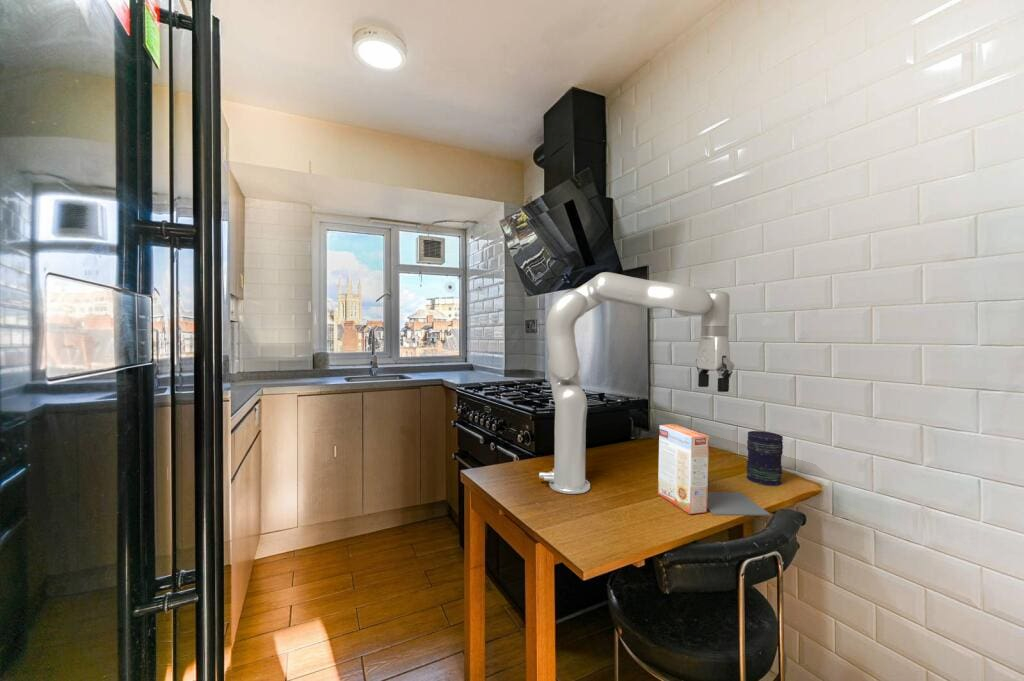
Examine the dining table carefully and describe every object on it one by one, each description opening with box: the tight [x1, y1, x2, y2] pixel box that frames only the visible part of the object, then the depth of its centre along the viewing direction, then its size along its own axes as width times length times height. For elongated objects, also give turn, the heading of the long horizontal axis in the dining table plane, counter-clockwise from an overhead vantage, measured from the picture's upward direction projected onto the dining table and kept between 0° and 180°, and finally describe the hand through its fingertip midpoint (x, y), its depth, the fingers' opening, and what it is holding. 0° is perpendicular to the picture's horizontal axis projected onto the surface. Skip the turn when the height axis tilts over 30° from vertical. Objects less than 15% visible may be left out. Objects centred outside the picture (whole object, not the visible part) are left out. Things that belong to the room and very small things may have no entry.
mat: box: [707, 491, 771, 517], centre depth 113 cm, size 15×14×1 cm
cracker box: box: [657, 423, 710, 515], centre depth 113 cm, size 14×6×21 cm, turn 15°
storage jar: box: [745, 430, 784, 487], centre depth 130 cm, size 10×10×15 cm
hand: (712, 389), depth 122 cm, fingers open, 9 cm apart
